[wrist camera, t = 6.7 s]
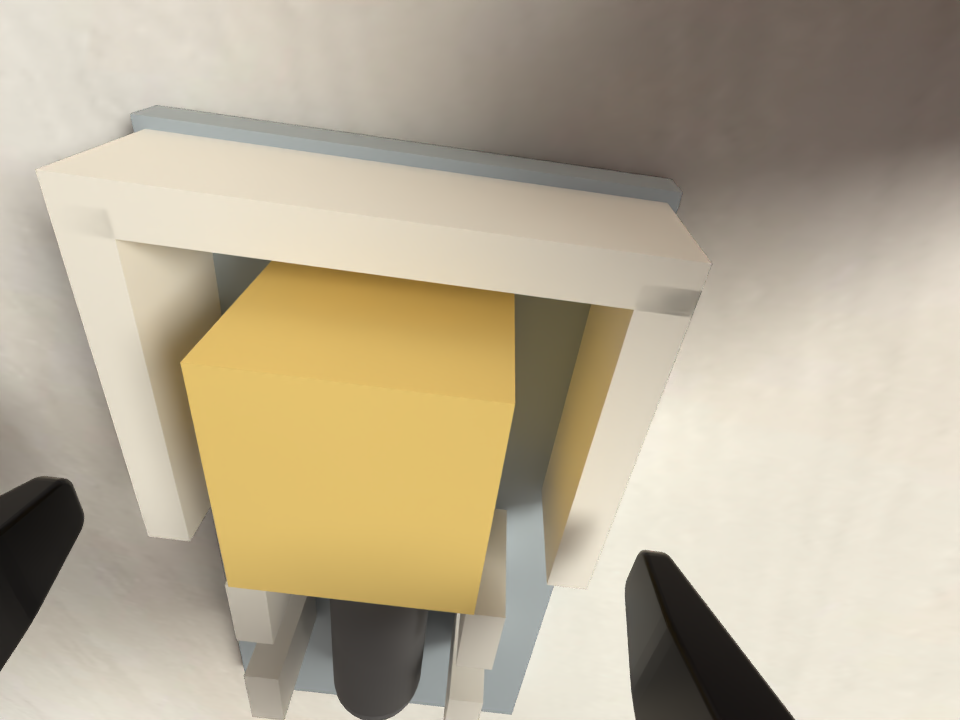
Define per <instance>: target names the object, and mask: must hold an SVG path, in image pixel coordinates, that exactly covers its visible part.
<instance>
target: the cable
mask: <svg viewBox="0 0 960 720" xmlns="http://www.w3.org/2000/svg"><path fill="white" fill-rule="evenodd" d="M180 363H181V368H182V373H183V377H184V382H185V387H186V391H187V396H188V401H189V405H190V410H191V415H192V419H193V424H194V429H195V433H196V438H197V443H198V447H199V452H200V457H201V461H202V466H203V471H204V475H205V480H206V485H207V489H208V494H209V499H210V503H211V508H212V513H213V517H214V522H215V527H216V531H217V536H218V541H219V545H220V550H221V555H222V559H223V564H224V569H225V573H226V578H227V583H228V587H235V588H244V589H252V590H261V591H270V592H278V593H287V594H296V595H304V596H313V597H322V598H330V615H331V635H332V656H333V676H334V685H335V689H336V693H337V696H338V698H339V700H340V702H341V704H342V705H343V706H344V707H345V709H346V710H347V711H349V712H350V713H351V714H352V715H354V716H355V717H358V718H360V719H362V720H385V719H388V718H390V717H393V716H394V715H396V714H397V713H399V712H400V711H401V710H402V709H403V708H404V707H405V706H406V705H407V704H408V703H409V702H410V701H411V699H412V698H413V696H414V694H415V692H416V690H417V687H418V684H419V681H420V676H421V668H422V660H423V651H424V643H425V634H426V625H427V617H428V610H435V611H443V612H452V613H461V614H469V615H474V612H475V607H476V602H477V597H478V592H479V587H480V582H481V576H482V571H483V566H484V561H485V556H486V551H487V546H488V541H489V536H490V530H491V525H492V520H493V515H494V510H495V505H496V500H497V495H498V490H499V485H500V479H501V474H502V469H503V464H504V459H505V454H506V449H507V444H508V439H509V433H510V428H511V423H512V418H513V413H514V408H515V298H514V293H506V292H499V291H492V290H484V289H477V288H470V287H462V286H455V285H448V284H440V283H433V282H426V281H418V280H411V279H404V278H396V277H389V276H382V275H374V274H367V273H360V272H352V271H345V270H338V269H330V268H323V267H316V266H308V265H301V264H294V263H286V262H279V261H271V262H270V263H269V264H268V265H267V266H266V268H265V269H264V270H263V271H262V272H261V273H260V274H259V275H258V276H257V278H256V279H255V280H254V281H253V282H252V283H251V284H250V285H249V286H248V288H247V289H246V290H245V291H244V292H243V293H242V294H241V295H240V296H239V298H238V299H237V300H236V301H235V302H234V303H233V304H232V305H231V306H230V308H229V309H228V310H227V311H226V312H225V313H224V314H223V315H222V317H221V318H220V319H219V320H218V321H217V322H216V323H215V324H214V325H213V327H212V328H211V329H210V330H209V331H208V332H207V333H206V334H205V335H204V337H203V338H202V339H201V340H200V341H199V342H198V343H197V344H196V345H195V347H194V348H193V349H192V350H191V351H190V352H189V353H188V354H187V355H186V357H185V358H184V359H183V360H182V361H181V362H180Z"/></svg>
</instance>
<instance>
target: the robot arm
mask: <svg viewBox="0 0 960 720" xmlns="http://www.w3.org/2000/svg"><path fill="white" fill-rule="evenodd" d="M83 523H84V512H83V509H82V507H81V504H80V502H79V499H78V497H77V494H76V491H75V489H74V486H73V484H72V483H71V482H70V481H69V480H68V479H64V478H57V477H48V476H41V477H37V478H34V479H32V480H30V481H28V482H26V483H24V484H22V485H20V486H18V487H16V488H14V489H12V490H10V491H9V492H7V493H5V494H3V495H1V496H0V671H1V670H2V668H3V667H4V665H5V664H6V662H7V660H8V659H9V657H10V656H11V654H12V653H13V651H14V650H15V648H16V647H17V645H18V644H19V642H20V641H21V639H22V638H23V636H24V634H25V633H26V631H27V630H28V628H29V626H30V625H31V623H32V621H33V620H34V618H35V616H36V614H37V613H38V611H39V609H40V607H41V605H42V604H43V602H44V600H45V598H46V596H47V594H48V592H49V590H50V588H51V586H52V585H53V583H54V581H55V579H56V577H57V575H58V573H59V571H60V569H61V567H62V566H63V564H64V562H65V560H66V558H67V556H68V554H69V552H70V550H71V548H72V547H73V545H74V543H75V541H76V539H77V537H78V535H79V533H80V531H81V529H82V526H83ZM625 605H626V621H627V636H628V651H629V667H630V680H631V692H632V699H633V706H634V712H635V718H636V720H795V719H794V718H793V716H792V715H791V714H790V712H789V711H788V710H787V708H786V707H785V706H784V705H783V703H782V702H781V701H780V699H779V698H778V697H777V695H776V694H775V693H774V692H773V690H772V689H771V688H770V686H769V685H768V684H767V682H766V681H765V680H764V678H763V677H762V676H761V675H760V673H759V672H758V671H757V669H756V668H755V667H754V665H753V664H752V663H751V662H750V660H749V659H748V658H747V656H746V655H745V654H744V652H743V651H742V650H741V649H740V647H739V646H738V645H737V643H736V642H735V641H734V639H733V638H732V637H731V636H730V634H729V633H728V632H727V630H726V629H725V628H724V626H723V625H722V624H721V623H720V621H719V620H718V619H717V617H716V616H715V615H714V613H713V612H712V611H711V610H710V608H709V607H708V606H707V604H706V603H705V602H704V600H703V599H702V598H701V596H700V595H699V594H698V593H697V591H696V590H695V589H694V587H693V586H692V585H691V583H690V582H689V581H688V580H687V578H686V577H685V576H684V574H683V573H682V572H681V570H680V569H679V568H678V567H677V565H676V564H675V563H674V561H673V560H672V559H671V558H670V556H668V555H667V554H666V553H663V552H657V551H649V550H642V551H641V552H639V554H638V555H637V558H636V560H635V562H634V564H633V567H632V569H631V571H630V573H629V576H628V578H627V581H626V585H625Z"/></svg>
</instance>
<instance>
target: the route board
mask: <svg viewBox="0 0 960 720" xmlns="http://www.w3.org/2000/svg"><path fill="white" fill-rule="evenodd" d="M130 115H131V120H132V125H133V130H134V133H132V134H130V135H127V136H124V137H122V138H119V139H116V140H113V141H111V142H108V143H105V144H103V145H100V146H97V147H95V148H92V149H89V150H86V151H84V152H81V153H78V154H76V155H73V156H70V157H67V158H65V159H62V160H59V161H57V162H54V163H51V164H49V165H46V166H43V167H40V168H38V169H35V171H36V174H37V178H38V181H39V184H40V187H41V191H42V194H43V197H44V200H45V204H46V207H47V210H48V213H49V216H50V220H51V223H52V226H53V229H54V233H55V236H56V239H57V242H58V246H59V249H60V252H61V255H62V259H63V262H64V265H65V268H66V272H67V275H68V278H69V281H70V284H71V288H72V291H73V294H74V297H75V301H76V304H77V307H78V310H79V314H80V317H81V320H82V323H83V327H84V330H85V333H86V336H87V340H88V343H89V346H90V349H91V352H92V356H93V359H94V362H95V365H96V369H97V372H98V375H99V378H100V382H101V385H102V388H103V391H104V395H105V398H106V401H107V404H108V408H109V411H110V414H111V417H112V420H113V424H114V427H115V430H116V433H117V437H118V440H119V443H120V446H121V450H122V453H123V456H124V459H125V463H126V466H127V469H128V472H129V476H130V479H131V482H132V485H133V488H134V492H135V495H136V498H137V501H138V505H139V508H140V511H141V514H142V518H143V521H144V524H145V527H146V531H147V534H148V537H156V538H164V539H173V540H181V541H189V542H190V541H191V539H192V537H193V536H194V534H195V532H196V531H197V529H198V527H199V525H200V524H201V522H202V520H203V519H204V517H205V515H206V514H207V512H208V510H209V508H210V507H211V503H210V499H209V494H208V489H207V485H206V480H205V475H204V471H203V466H202V461H201V457H200V452H199V447H198V443H197V438H196V433H195V429H194V424H193V419H192V415H191V410H190V405H189V401H188V396H187V391H186V387H185V382H184V377H183V373H182V368H181V363H180V362H181V361H182V360H183V359H184V358H185V357H186V355H187V354H188V353H189V352H190V351H191V350H192V349H193V348H194V347H195V345H196V344H197V343H198V342H199V341H200V340H201V339H202V338H203V337H204V335H205V334H206V333H207V332H208V331H209V330H210V329H211V328H212V327H213V325H214V324H215V323H216V322H217V321H218V320H219V319H220V318H221V317H222V315H223V314H224V313H225V312H226V311H227V310H228V309H229V308H230V306H231V305H232V304H233V303H234V302H235V301H236V300H237V299H238V298H239V296H240V295H241V294H242V293H243V292H244V291H245V290H246V289H247V288H248V286H249V285H250V284H251V283H252V282H253V281H254V280H255V279H256V278H257V276H258V275H259V274H260V273H261V272H262V271H263V270H264V269H265V268H266V266H267V265H268V264H269V263H270V262H271V261H279V262H286V263H294V264H301V265H308V266H316V267H323V268H330V269H338V270H345V271H352V272H360V273H367V274H374V275H382V276H389V277H396V278H404V279H411V280H418V281H426V282H433V283H440V284H448V285H455V286H462V287H470V288H477V289H484V290H492V291H499V292H506V293H514V298H515V408H514V413H513V418H512V423H511V428H510V433H509V439H508V444H507V449H506V454H505V459H504V464H503V469H502V474H501V479H500V485H499V490H498V495H497V500H496V505H495V510H494V515H493V520H492V525H491V530H490V536H489V541H488V546H487V551H486V556H485V561H484V566H483V571H482V576H481V582H480V587H479V592H478V597H477V602H476V607H475V612H474V615H469V614H461V613H452V612H443V611H435V610H428V617H427V625H426V634H425V643H424V651H423V660H422V668H421V676H420V681H419V684H418V687H417V690H416V692H415V694H414V696H413V698H412V699H411V701H410V702H409V703H414V704H423V705H432V706H440V707H445V709H444V720H479V717H480V713H481V711H484V712H493V713H502V714H510V715H512V712H513V709H514V706H515V703H516V700H517V697H518V693H519V690H520V687H521V684H522V681H523V678H524V675H525V672H526V669H527V666H528V663H529V660H530V657H531V654H532V651H533V648H534V645H535V642H536V639H537V636H538V633H539V630H540V627H541V623H542V620H543V617H544V614H545V611H546V608H547V605H548V602H549V599H550V596H551V593H552V590H553V587H554V586H560V587H569V588H577V589H585V590H587V588H588V586H589V583H590V580H591V578H592V575H593V573H594V570H595V567H596V565H597V562H598V560H599V557H600V554H601V552H602V549H603V547H604V544H605V541H606V539H607V536H608V534H609V531H610V528H611V526H612V523H613V521H614V518H615V515H616V513H617V510H618V508H619V505H620V502H621V500H622V497H623V495H624V492H625V489H626V487H627V484H628V482H629V479H630V476H631V474H632V471H633V469H634V466H635V463H636V461H637V458H638V456H639V453H640V450H641V448H642V445H643V443H644V440H645V437H646V435H647V432H648V430H649V427H650V424H651V422H652V419H653V417H654V414H655V411H656V409H657V406H658V404H659V401H660V398H661V396H662V393H663V391H664V388H665V385H666V383H667V380H668V378H669V375H670V372H671V370H672V367H673V365H674V362H675V360H676V357H677V354H678V352H679V349H680V347H681V344H682V341H683V339H684V336H685V334H686V331H687V328H688V326H689V323H690V321H691V318H692V315H693V313H694V310H695V308H696V305H697V302H698V300H699V297H700V295H701V292H702V289H703V287H704V284H705V282H706V279H707V276H708V274H709V271H710V269H711V266H712V263H711V261H710V260H709V259H708V257H707V256H706V255H705V253H704V252H703V250H702V249H701V248H700V246H699V245H698V244H697V242H696V241H695V240H694V238H693V237H692V236H691V234H690V233H689V232H688V230H687V229H686V227H685V226H684V225H683V223H682V222H681V221H680V219H679V218H678V217H677V215H676V213H677V210H678V207H679V204H680V200H681V197H682V194H683V192H682V191H681V190H680V188H679V187H678V186H677V185H676V184H675V183H674V181H673V180H672V179H668V178H661V177H654V176H647V175H640V174H633V173H626V172H619V171H612V170H605V169H598V168H591V167H584V166H577V165H570V164H563V163H556V162H549V161H542V160H535V159H528V158H521V157H514V156H507V155H500V154H493V153H486V152H479V151H472V150H465V149H458V148H451V147H444V146H437V145H430V144H423V143H416V142H409V141H403V140H396V139H389V138H382V137H375V136H368V135H361V134H354V133H347V132H340V131H333V130H326V129H319V128H312V127H305V126H298V125H291V124H284V123H277V122H270V121H263V120H256V119H249V118H242V117H235V116H228V115H221V114H214V113H207V112H200V111H193V110H186V109H179V108H172V107H165V106H158V105H156V106H153V107H150V108H147V109H143V110H140V111H137V112H134V113H131V114H130ZM211 510H212V508H211ZM212 515H213V513H212ZM213 520H214V517H213ZM214 525H215V522H214ZM215 530H216V527H215ZM216 535H217V531H216ZM217 539H218V536H217ZM218 544H219V541H218ZM219 549H220V545H219ZM220 554H221V550H220ZM221 559H222V555H221ZM222 564H223V559H222ZM223 569H224V564H223ZM224 574H225V578H226V573H225V569H224ZM225 588H226V593H227V597H228V602H229V607H230V612H231V617H232V621H233V626H234V631H235V636H236V640H238V642H239V647H240V652H241V656H242V661H243V666H244V671H245V674H244V679H245V684H246V689H247V693H248V698H249V703H250V708H251V713H252V717H259V718H268V719H277V720H284V719H285V716H286V713H287V710H288V707H289V703H290V700H291V697H292V694H293V691H294V690H300V691H309V692H318V693H326V694H335V695H337V693H336V689H335V685H334V676H333V656H332V635H331V615H330V598H322V597H313V596H304V595H296V594H287V593H278V592H270V591H261V590H252V589H244V588H235V587H228V583H227V578H226V583H225Z"/></svg>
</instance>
